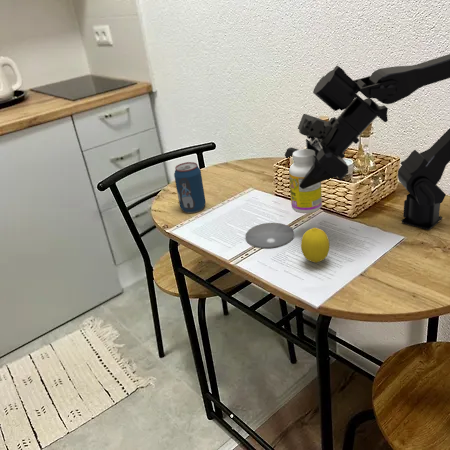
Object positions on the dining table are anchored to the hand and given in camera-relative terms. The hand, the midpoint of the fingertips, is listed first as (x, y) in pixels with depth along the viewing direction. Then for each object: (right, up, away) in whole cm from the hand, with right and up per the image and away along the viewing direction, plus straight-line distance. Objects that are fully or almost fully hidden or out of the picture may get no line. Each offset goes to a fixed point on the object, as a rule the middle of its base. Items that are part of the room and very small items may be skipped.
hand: (298, 181), depth 101 cm
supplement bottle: (+2, -6, +3) cm, 7 cm away
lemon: (+3, -17, -5) cm, 18 cm away
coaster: (-6, -12, +6) cm, 15 cm away
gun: (+9, +4, +33) cm, 34 cm away
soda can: (-24, -5, +25) cm, 35 cm away
